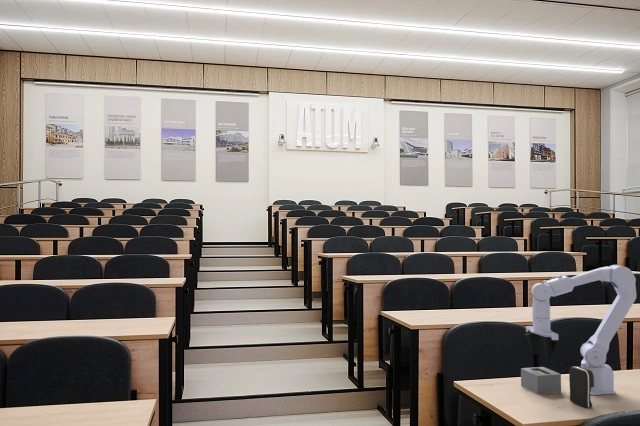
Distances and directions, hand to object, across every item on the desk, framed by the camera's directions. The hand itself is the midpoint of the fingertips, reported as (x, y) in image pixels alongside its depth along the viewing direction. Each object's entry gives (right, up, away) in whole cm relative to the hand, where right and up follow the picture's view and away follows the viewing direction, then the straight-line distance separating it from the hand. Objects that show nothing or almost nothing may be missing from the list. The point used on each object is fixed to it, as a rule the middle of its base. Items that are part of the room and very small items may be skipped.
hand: (541, 356), depth 171 cm
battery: (+5, -10, -18) cm, 21 cm away
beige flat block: (-2, -10, -3) cm, 10 cm away
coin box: (-2, -10, -3) cm, 11 cm away
